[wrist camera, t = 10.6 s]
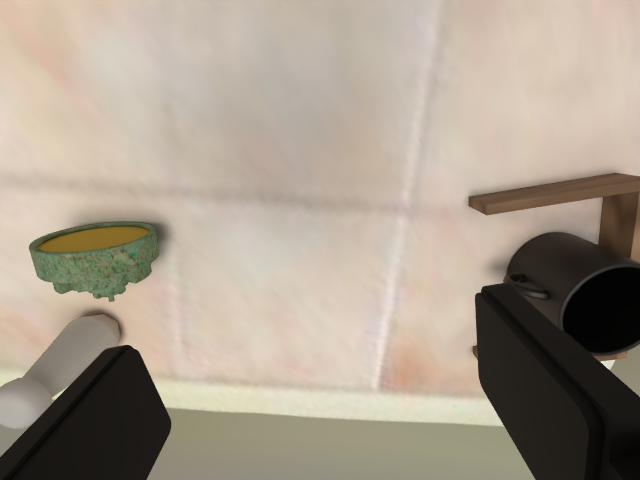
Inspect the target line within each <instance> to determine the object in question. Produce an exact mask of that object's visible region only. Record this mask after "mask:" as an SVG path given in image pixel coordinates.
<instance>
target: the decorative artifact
mask: <svg viewBox="0 0 640 480" xmlns="http://www.w3.org/2000/svg"><path fill="white" fill-rule="evenodd" d="M29 250H30V253H31V257H32V260H33V263H34V267H35V270H36V273H37V276H38V277H39V278H40V279H41V280H44V281H47V282H53V286H54V289H55V291H56V292H58V293H60V294H64V293H66V292H69V291H71V290H74V291H78V293H79V292H84V291H88V292H89V293H93V296H94V298H97V299H99V298H101V297H108V298H109V302H113V301H114V295H116V294H122V293H123V292H125V290H126V288H125V286H126V285H127V284H128V282H132V283H138V282H140V281H141V280H143V279H145V278H146V277H147V276H149V275H150V273H151V272H152V270H151V264H150V263H152V262H153V261H154V260H155V259H156V258H157V257H158V256H159V248H158V242H157V236H156V230H155V227H154V226H152V225H150V224H146V223H140V222H108V223H98V224H90V225H84V226H78V227H73V228H69V229H64V230H61V231H57V232H54V233H51V234H48V235H45V236H42V237H40V238H38V239H36V240H35V241H33V242H32V243H31V244H30V245H29Z"/></svg>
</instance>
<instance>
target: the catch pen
mask: <svg viewBox="0 0 640 480" xmlns="http://www.w3.org/2000/svg"><path fill="white" fill-rule="evenodd" d="M598 197H603V207H602V217H601V227H600V236H599V246H601V247H604V248H606V249H608V250H611V251H613V252H616V253H618V254H620V255H623V256H625V257H628V258H630V259H632V260H635V261H637V262H639V263H640V176H633V175H626V174H619V173H613V174H607V175H600V176H594V177H588V178H582V179H576V180H570V181H564V182H557V183H551V184H545V185H539V186H533V187H527V188H521V189H514V190H508V191H502V192H496V193H490V194H484V195H477V196H471V197H469V206H470V207H472V208H474V209H476V210H478V211H479V212H481V213H483V214H485V215H491V214H497V213H504V212H510V211H516V210H523V209H529V208H535V207H542V206H548V205H554V204H560V203H567V202H573V201H579V200H586V199H592V198H598ZM473 354H474V355H475V357H476V358H477V360H478V351H477V346H473ZM626 356H627V351H625V352H622V353H619V354H615V355H611V356H594V357H595V358H596V359H597V360H598V361H607V360H615V359H622V358H626Z"/></svg>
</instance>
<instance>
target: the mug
mask: <svg viewBox="0 0 640 480" xmlns="http://www.w3.org/2000/svg"><path fill="white" fill-rule="evenodd" d="M503 282H504V283H508V284H510V285H511V286H512V287H513V288H514V289H515V290H516V291H517V292H519V293H520V294H521V295H522V296H523V297H524V298H525V299H526V300H528V301H529V302H530V303H531V304H532V305H533V306H534V307H535V308H536V309H538V310H539V311H540V312H541V313H542V314H543V315H544V316H545V317H547V318H548V319H549V320H550V321H551V322H552V323H553V324H554V325H555V326H557V327H558V328H559V329H560V330H563V331H564V332H566V333H567V334H569V335H570V336H571V337H572V338H573V339H575V340H576V341H577V342H578V343H579V344H580V345H581V346H582V347H584V348H585V349H586V350H587V351H588V352H589V353H590V354H592V355H593V356H611V355H615V354H619V353H622V352H625V351H627V350H630V349H632V348H634V347H636V346H637V345H639V344H640V263H639V262H637V261H635V260H632V259H630V258H628V257H625V256H623V255H620V254H618V253H616V252H613V251H611V250H608V249H606V248H604V247H601V246H599V245H596V244H594V243H592V242H589V241H587V240H584V239H582V238H580V237H577V236H575V235H572V234H567V233H552V234H546V235H543V236H540V237H537V238H535V239H533V240H531V241H530V242H528V243H527V244H526V245H524V246H523V247H522V248H521V249H520V250H519V251H518V252H517V254H516V255H515V256H514V258H513V260H512V261H511V263H510V266H509V269H508V275H506V276H505V278H504V280H503Z"/></svg>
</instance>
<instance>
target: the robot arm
mask: <svg viewBox="0 0 640 480" xmlns="http://www.w3.org/2000/svg"><path fill="white" fill-rule="evenodd" d="M475 307H476V329H477V351H478V372H479V379H480V383H481V386H482V388H483V390H484V392H485V394H486V395H487V397H488V399H489V401H490V402H491V404H492V406H493V407H494V409H495V411H496V413H497V414H498V416H499V418H500V419H501V421H502V423H503V425H504V426H505V428H506V429H507V431H508V433H509V435H510V437H511V438H512V440H513V442H514V443H515V445H516V447H517V449H518V450H519V452H520V454H521V455H522V457H523V459H524V461H525V462H526V464H527V466H528V467H529V469H530V471H531V473H532V474H533V476H534V478H535V479H536V480H640V397H639V396H638V395H637V394H636V393H635V392H633V391H632V390H631V389H630V388H629V387H628V386H627V385H625V384H624V383H623V382H622V381H621V380H620V379H619V378H618V377H616V376H615V375H614V374H613V373H612V372H611V371H610V370H609V369H607V368H606V367H605V366H604V365H603V364H602V363H601V362H599V361H598V360H597V359H596V358H595V357H594V356H593V355H592V354H590V353H589V352H588V351H587V350H586V349H585V348H584V347H582V346H581V345H580V344H579V343H578V342H577V341H576V340H575V339H573V338H572V337H571V336H570V335H569V334H567V333H566V332H564V331H563V330H560V329H559V328H558V327H557V326H555V325H554V324H553V323H552V322H551V321H550V320H549V319H548V318H547V317H545V316H544V315H543V314H542V313H541V312H540V311H539V310H538V309H536V308H535V307H534V306H533V305H532V304H531V303H530V302H529V301H528V300H526V299H525V298H524V297H523V296H522V295H521V294H520V293H519V292H517V291H516V290H515V289H514V288H513V287H512V286H511V285H510V284H508V283H501V284H495V285H489V286H484V287H483V288H482V290H481V293H477V294H476V295H475ZM170 429H171V420H170V417H169V415H168V413H167V410H166V408H165V406H164V404H163V402H162V400H161V398H160V396H159V393H158V391H157V389H156V387H155V385H154V383H153V381H152V378H151V376H150V374H149V372H148V370H147V368H146V366H145V364H144V361H143V359H142V357H141V355H140V353H139V352H138V350H136V349H134V348H133V347H131V346H130V345H123V346H117V347H111V348H107V349H105V350H104V351H102V352H101V353H100V355H99V356H98V357H97V358H96V359H95V360H94V361H93V362H92V363H91V364H90V365H89V366H88V367H87V368H86V369H85V370H84V371H83V372H82V373H81V374H80V375H79V376H78V377H77V378H76V379H75V380H74V381H73V382H72V384H71V385H70V386H69V387H68V388H67V389H66V390H65V391H64V392H63V393H62V394H61V395H60V396H59V397H58V398H57V399H56V400H55V401H54V402H53V403H52V404H51V405H50V406H49V407H48V408H47V409H46V410H45V411H44V413H43V414H42V415H41V416H40V417H39V418H38V419H37V420H36V421H35V422H34V423H33V424H32V425H31V426H30V427H29V428H28V429H27V430H26V431H25V432H24V433H23V434H22V435H21V436H20V437H19V438H18V439H17V441H16V442H15V443H14V444H13V445H12V446H11V447H10V448H9V449H8V450H7V451H6V452H5V453H4V454H3V455H2V456H1V457H0V480H146V479H147V477H148V475H149V473H150V471H151V469H152V467H153V465H154V463H155V461H156V459H157V457H158V455H159V453H160V451H161V449H162V447H163V445H164V443H165V441H166V439H167V437H168V435H169V433H170Z"/></svg>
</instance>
